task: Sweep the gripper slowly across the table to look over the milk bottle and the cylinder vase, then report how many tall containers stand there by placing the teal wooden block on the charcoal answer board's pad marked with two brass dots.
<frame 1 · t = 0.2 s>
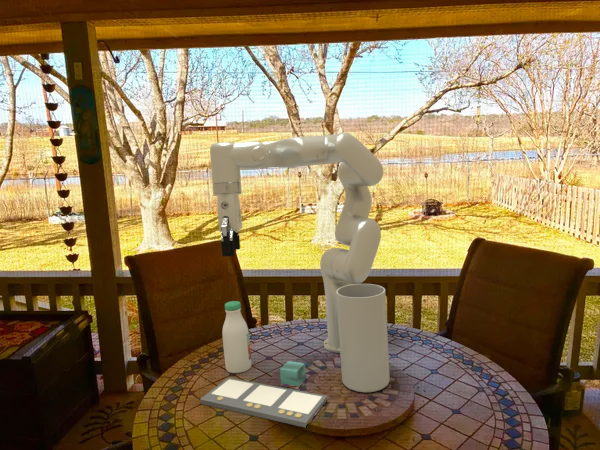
hand: (231, 252, 118), 36 cm above the table, tool pointing down, fingers open, 9 cm apart
answer board: (263, 402, 109), on the table
milk bottle: (238, 368, 129), on the table
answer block: (293, 383, 117), on the table
cylinder vase: (365, 382, 115), on the table
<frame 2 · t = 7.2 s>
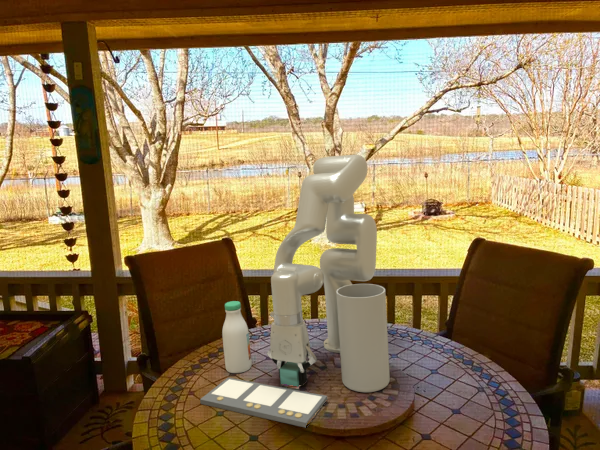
hand: (293, 381, 117), 0 cm above the table, tool pointing down, fingers closed on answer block, 5 cm apart
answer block: (293, 383, 117), on the table, touching gripper
everything else where it was.
when the fingers open (3 cm above the table, at t = 12.3 s): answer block drops 1 cm, resting on answer board.
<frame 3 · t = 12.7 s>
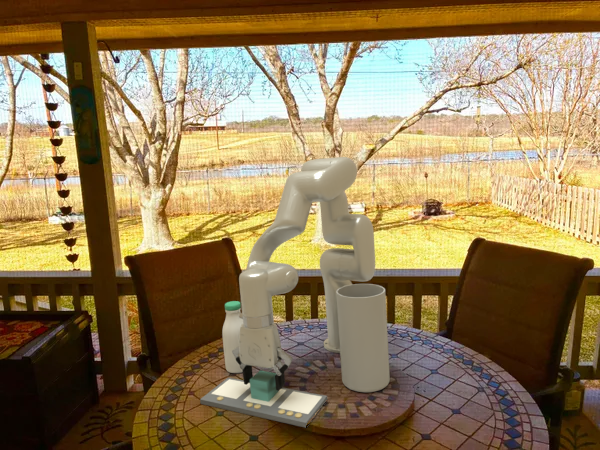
hand: (264, 384, 109), 4 cm above the table, tool pointing down, fingers open, 9 cm apart
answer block: (265, 394, 110), point 1 cm above the table, touching answer board
everything else where it was.
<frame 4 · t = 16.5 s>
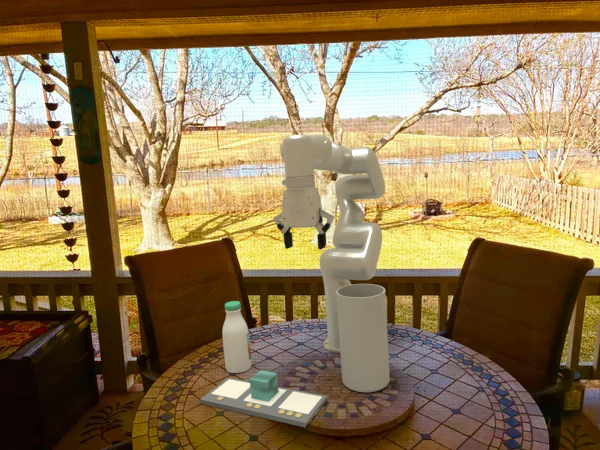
hand: (305, 248, 115), 36 cm above the table, tool pointing down, fingers open, 9 cm apart
nothing on the table moved.
at the end: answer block 0.1 cm from the target spot on the answer board, point 1.2 cm above the answer board's base; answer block tilted 0°; the gripper is holding nothing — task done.
